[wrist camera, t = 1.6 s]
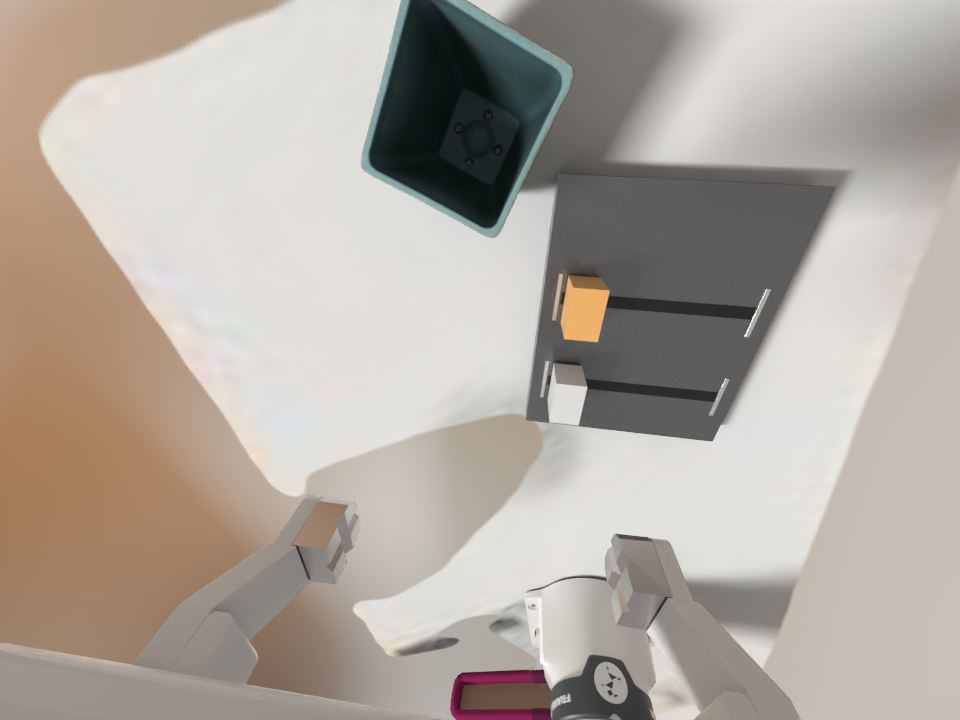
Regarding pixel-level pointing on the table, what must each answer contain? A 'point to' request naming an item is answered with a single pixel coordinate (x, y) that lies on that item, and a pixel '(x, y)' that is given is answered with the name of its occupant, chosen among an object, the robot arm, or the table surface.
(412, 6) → the flower pot
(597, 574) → the table surface
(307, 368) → the table surface
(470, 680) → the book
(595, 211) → the console
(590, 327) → the fader
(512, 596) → the table surface
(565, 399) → the block
